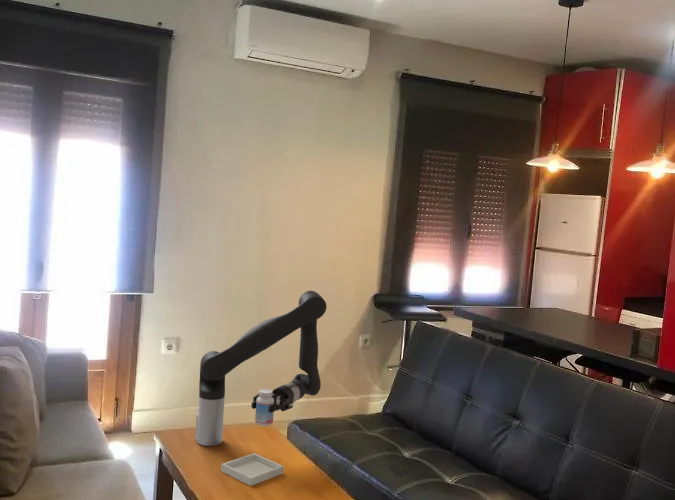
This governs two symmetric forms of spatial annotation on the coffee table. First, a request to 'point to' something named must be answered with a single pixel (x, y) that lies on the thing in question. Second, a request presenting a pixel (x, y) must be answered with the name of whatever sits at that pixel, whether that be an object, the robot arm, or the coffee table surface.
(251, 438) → the coffee table surface
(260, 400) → the pill bottle
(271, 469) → the tray
